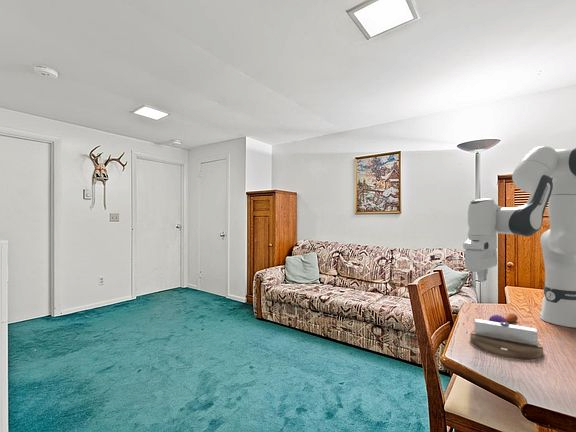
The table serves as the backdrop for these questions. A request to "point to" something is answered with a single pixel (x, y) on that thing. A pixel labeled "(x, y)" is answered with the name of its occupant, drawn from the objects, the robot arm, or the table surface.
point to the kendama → (501, 319)
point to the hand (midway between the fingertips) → (482, 281)
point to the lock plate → (507, 347)
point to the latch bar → (506, 331)
